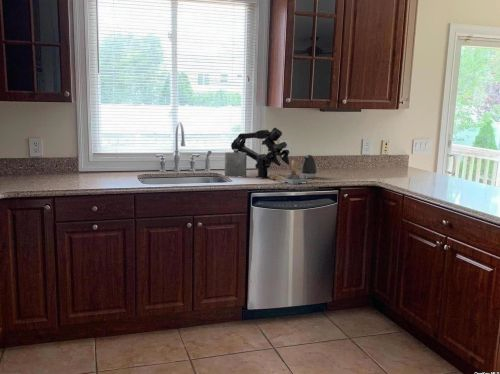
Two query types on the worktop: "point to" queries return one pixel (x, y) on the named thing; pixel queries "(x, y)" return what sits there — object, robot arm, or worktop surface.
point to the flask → (235, 163)
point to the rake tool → (294, 171)
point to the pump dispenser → (309, 167)
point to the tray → (293, 180)
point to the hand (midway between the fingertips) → (284, 165)
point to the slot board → (278, 176)
